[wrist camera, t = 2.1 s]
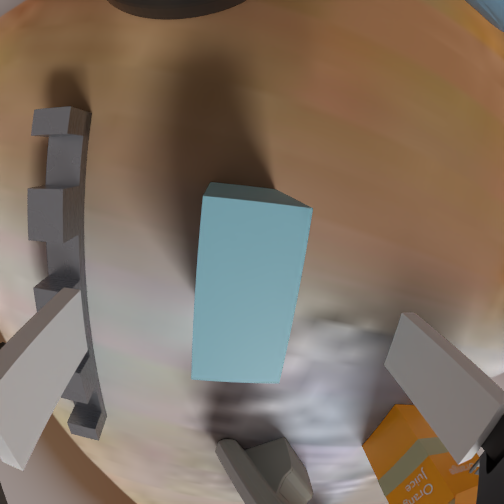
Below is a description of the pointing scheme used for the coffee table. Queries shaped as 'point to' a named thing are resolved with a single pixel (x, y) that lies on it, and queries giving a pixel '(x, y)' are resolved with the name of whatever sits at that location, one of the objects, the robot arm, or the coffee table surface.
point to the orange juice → (417, 462)
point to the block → (246, 282)
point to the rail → (67, 245)
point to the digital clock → (266, 472)
